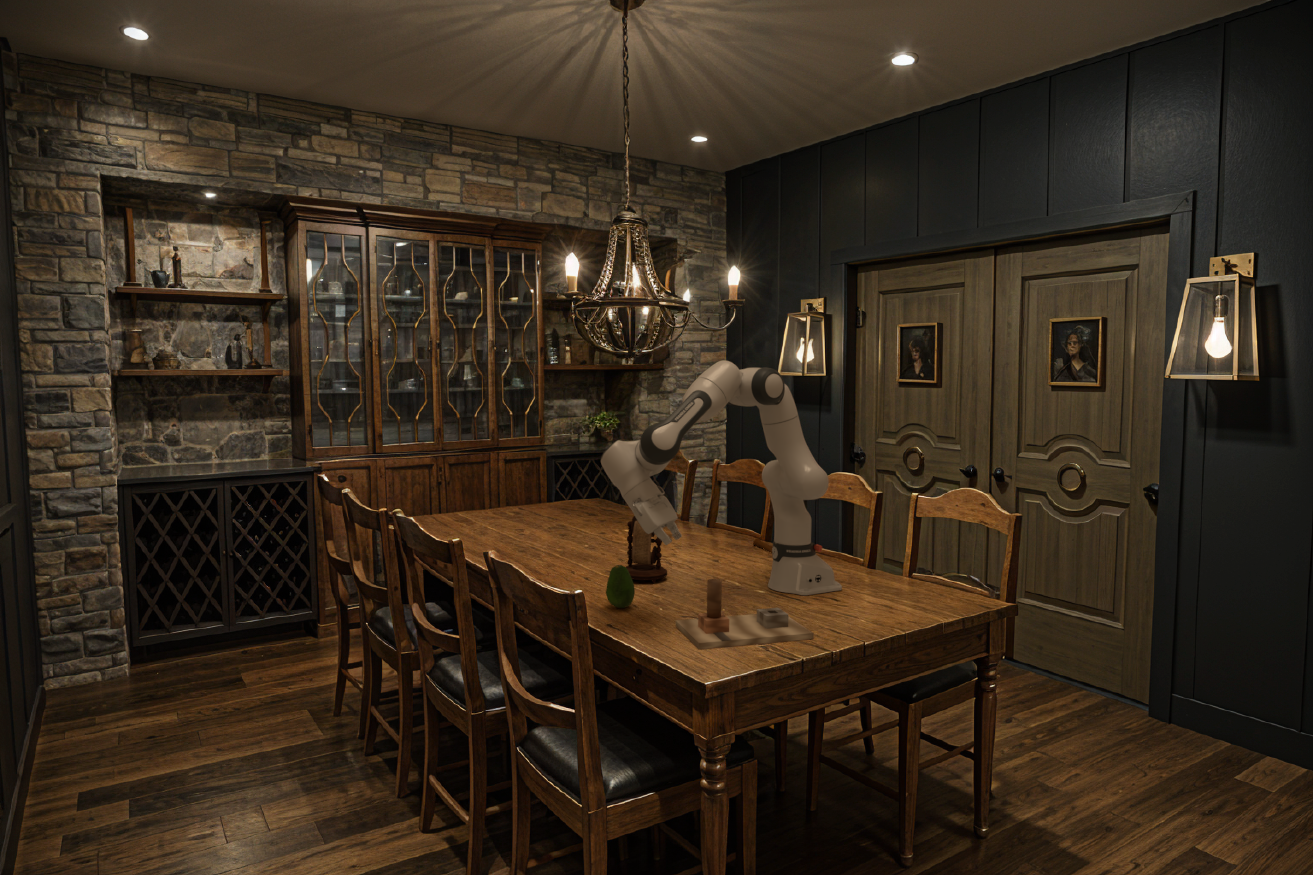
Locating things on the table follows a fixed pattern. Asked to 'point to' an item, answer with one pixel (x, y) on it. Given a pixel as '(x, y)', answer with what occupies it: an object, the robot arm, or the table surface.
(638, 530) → the scroll
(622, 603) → the avocado
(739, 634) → the subfloor panel
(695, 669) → the table surface
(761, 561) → the table surface
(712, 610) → the brown wooden peg
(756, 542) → the primitive tool
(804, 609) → the table surface
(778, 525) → the robot arm
